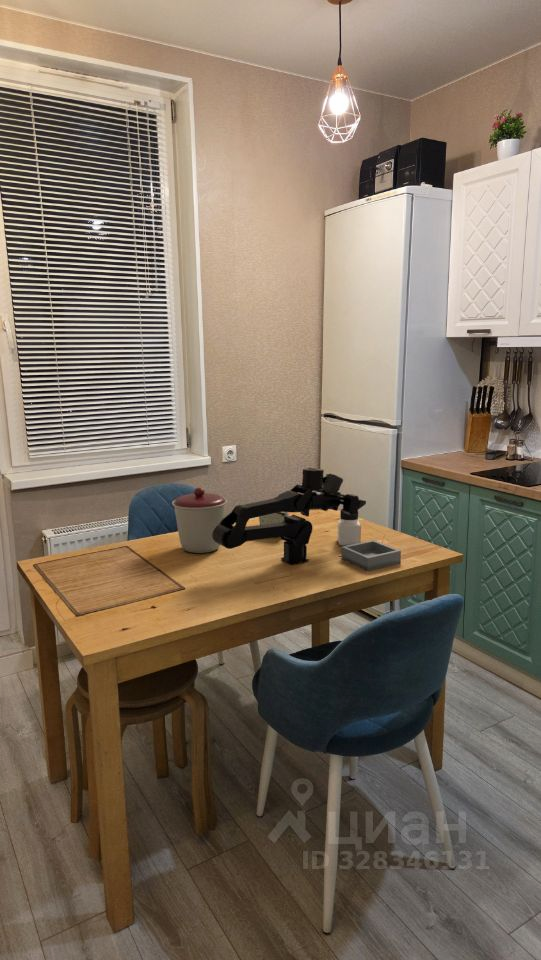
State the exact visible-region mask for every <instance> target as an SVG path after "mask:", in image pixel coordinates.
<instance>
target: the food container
mask: <svg viewBox="0 0 541 960" xmlns="http://www.w3.org/2000/svg"><path fill="white" fill-rule="evenodd" d="M289 513H290V512H277V513H273V514H268V515H264V516H260V517H258V521H259V525H265V524H273V523H281V522H282V521H284V516H290V515H289Z"/></svg>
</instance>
